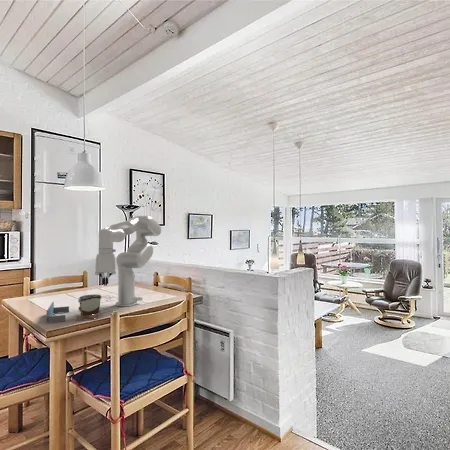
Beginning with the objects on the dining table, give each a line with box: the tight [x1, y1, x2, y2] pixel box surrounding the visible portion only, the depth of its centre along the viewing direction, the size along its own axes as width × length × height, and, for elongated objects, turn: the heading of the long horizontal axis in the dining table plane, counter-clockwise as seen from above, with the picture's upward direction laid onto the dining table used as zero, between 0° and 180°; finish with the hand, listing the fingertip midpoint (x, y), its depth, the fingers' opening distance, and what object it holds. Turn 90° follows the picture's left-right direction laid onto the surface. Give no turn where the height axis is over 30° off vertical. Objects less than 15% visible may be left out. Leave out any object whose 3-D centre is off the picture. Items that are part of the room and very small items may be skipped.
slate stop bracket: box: [46, 301, 70, 323], centre depth 169 cm, size 8×20×6 cm, turn 21°
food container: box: [78, 293, 103, 316], centre depth 174 cm, size 12×6×10 cm, turn 141°
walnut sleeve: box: [75, 306, 99, 321], centre depth 174 cm, size 10×22×2 cm, turn 21°
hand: (105, 285), depth 177 cm, fingers closed
